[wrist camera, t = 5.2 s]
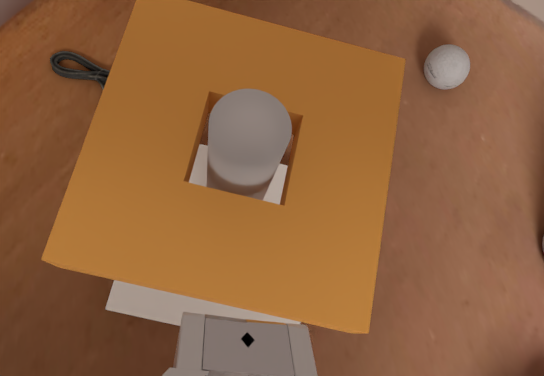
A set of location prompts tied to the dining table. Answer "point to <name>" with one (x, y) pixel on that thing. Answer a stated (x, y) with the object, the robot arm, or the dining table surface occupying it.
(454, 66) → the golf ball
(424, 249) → the dining table surface
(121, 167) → the collar
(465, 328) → the dining table surface
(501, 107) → the dining table surface
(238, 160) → the post stand
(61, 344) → the dining table surface
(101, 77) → the composite cable
